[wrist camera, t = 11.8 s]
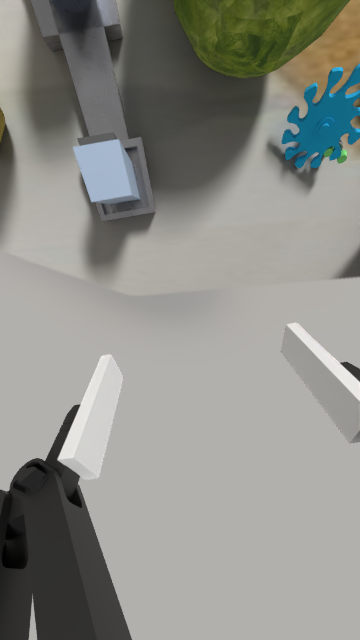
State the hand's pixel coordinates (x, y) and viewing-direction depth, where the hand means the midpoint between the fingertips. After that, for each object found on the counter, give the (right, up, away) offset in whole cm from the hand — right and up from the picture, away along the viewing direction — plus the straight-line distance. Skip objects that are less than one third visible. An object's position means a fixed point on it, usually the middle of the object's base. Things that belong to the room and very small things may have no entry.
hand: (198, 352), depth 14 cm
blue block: (-10, +23, +13) cm, 28 cm away
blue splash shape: (+18, +31, +14) cm, 39 cm away
